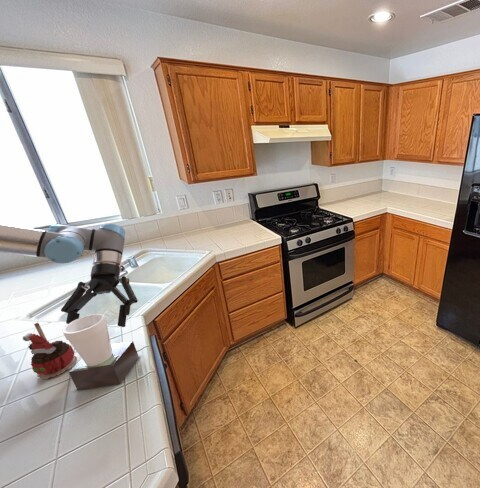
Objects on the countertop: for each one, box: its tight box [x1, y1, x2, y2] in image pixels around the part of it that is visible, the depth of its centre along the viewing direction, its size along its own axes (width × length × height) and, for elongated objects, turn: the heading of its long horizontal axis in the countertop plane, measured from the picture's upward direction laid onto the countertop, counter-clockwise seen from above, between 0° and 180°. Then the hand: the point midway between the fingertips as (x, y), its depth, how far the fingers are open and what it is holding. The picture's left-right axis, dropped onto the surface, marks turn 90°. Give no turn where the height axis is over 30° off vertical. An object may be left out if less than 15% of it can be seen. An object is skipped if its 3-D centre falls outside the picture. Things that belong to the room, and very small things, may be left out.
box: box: [68, 340, 140, 391], centre depth 83 cm, size 12×11×7 cm
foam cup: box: [61, 313, 112, 366], centre depth 78 cm, size 10×9×13 cm
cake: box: [22, 322, 78, 380], centre depth 84 cm, size 11×9×18 cm
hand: (96, 330), depth 80 cm, fingers open, 13 cm apart
